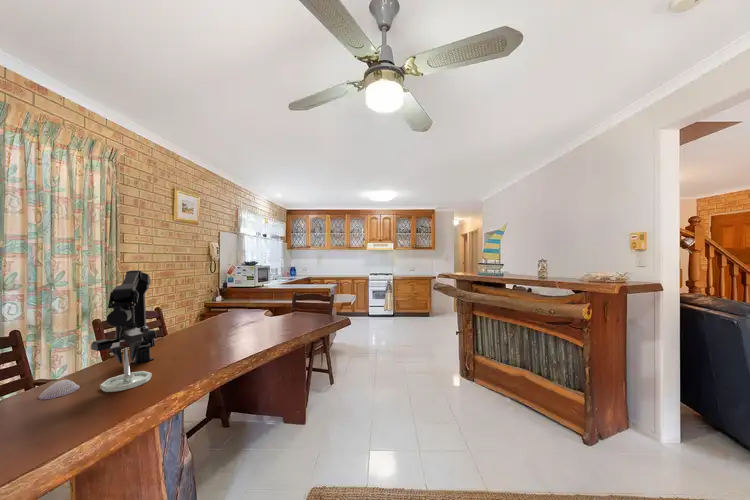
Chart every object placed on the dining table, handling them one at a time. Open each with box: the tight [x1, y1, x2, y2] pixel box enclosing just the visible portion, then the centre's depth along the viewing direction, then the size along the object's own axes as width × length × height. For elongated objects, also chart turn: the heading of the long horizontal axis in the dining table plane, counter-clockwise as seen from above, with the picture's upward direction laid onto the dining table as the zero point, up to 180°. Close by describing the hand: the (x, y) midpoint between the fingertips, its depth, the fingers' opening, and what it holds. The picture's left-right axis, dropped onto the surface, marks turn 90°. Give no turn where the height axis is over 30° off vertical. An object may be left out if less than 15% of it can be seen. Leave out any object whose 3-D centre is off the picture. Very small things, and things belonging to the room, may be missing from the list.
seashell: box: [38, 379, 81, 400], centre depth 110 cm, size 10×6×10 cm
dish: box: [99, 370, 153, 393], centre depth 116 cm, size 14×14×2 cm
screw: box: [119, 347, 135, 383], centre depth 116 cm, size 13×5×5 cm
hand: (126, 362), depth 116 cm, fingers open, 3 cm apart
